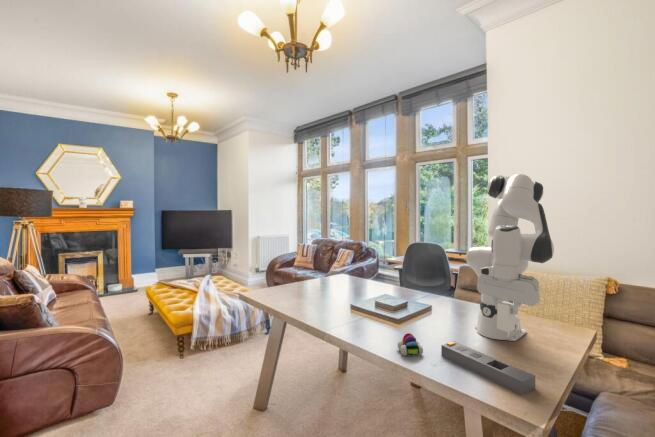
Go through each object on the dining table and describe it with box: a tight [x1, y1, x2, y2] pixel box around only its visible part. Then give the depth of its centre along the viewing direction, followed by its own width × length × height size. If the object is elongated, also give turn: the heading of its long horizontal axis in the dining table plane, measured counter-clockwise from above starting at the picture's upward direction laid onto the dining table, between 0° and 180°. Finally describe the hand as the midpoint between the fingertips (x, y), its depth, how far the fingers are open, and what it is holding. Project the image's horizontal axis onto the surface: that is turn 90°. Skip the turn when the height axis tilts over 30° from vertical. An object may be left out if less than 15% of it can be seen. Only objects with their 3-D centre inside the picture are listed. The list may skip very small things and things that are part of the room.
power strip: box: [440, 340, 536, 396], centre depth 111 cm, size 7×30×6 cm, turn 30°
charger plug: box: [497, 301, 516, 332], centre depth 112 cm, size 4×4×9 cm
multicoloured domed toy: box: [397, 332, 424, 357], centre depth 127 cm, size 8×10×7 cm
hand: (506, 311), depth 112 cm, fingers closed on charger plug, 4 cm apart
